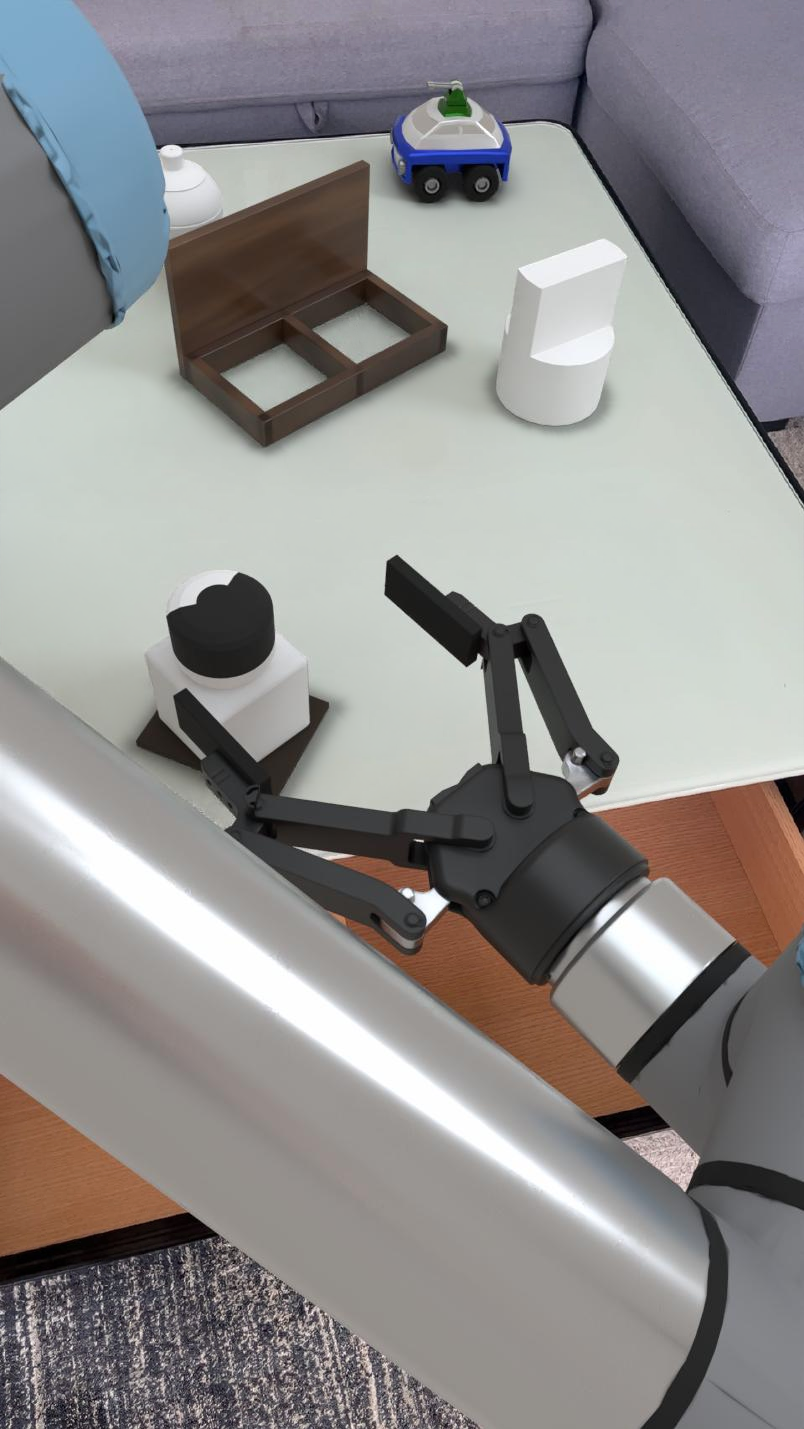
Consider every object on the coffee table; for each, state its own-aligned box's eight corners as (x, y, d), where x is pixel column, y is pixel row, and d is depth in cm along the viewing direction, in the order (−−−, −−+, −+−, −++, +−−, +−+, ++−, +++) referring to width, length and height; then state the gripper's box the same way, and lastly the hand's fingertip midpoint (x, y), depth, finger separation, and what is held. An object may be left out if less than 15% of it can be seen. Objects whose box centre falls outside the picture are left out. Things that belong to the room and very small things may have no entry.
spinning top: (232, 257, 100) (220, 127, 90) (227, 306, 96) (215, 175, 86) (149, 255, 100) (129, 124, 90) (141, 304, 95) (118, 172, 85)
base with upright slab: (538, 439, 88) (564, 311, 78) (474, 378, 92) (491, 249, 82) (621, 403, 91) (656, 276, 81) (556, 346, 95) (582, 218, 85)
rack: (445, 350, 94) (459, 221, 84) (264, 447, 85) (255, 317, 76) (359, 288, 98) (362, 159, 88) (179, 375, 90) (160, 243, 80)
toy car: (385, 156, 112) (388, 59, 104) (496, 153, 113) (508, 58, 106) (397, 204, 107) (402, 107, 99) (513, 201, 108) (527, 104, 100)
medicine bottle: (312, 725, 70) (308, 605, 60) (226, 787, 67) (207, 672, 57) (243, 660, 72) (228, 536, 62) (157, 718, 69) (128, 596, 59)
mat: (136, 745, 69) (135, 740, 68) (197, 657, 73) (196, 652, 73) (275, 801, 67) (275, 796, 66) (329, 707, 71) (329, 702, 71)
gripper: (382, 1152, 44) (96, 811, 52) (744, 811, 55) (458, 572, 63) (391, 1104, 38) (65, 727, 46) (797, 730, 48) (473, 476, 57)
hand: (291, 637), depth 54 cm, fingers open, 13 cm apart
